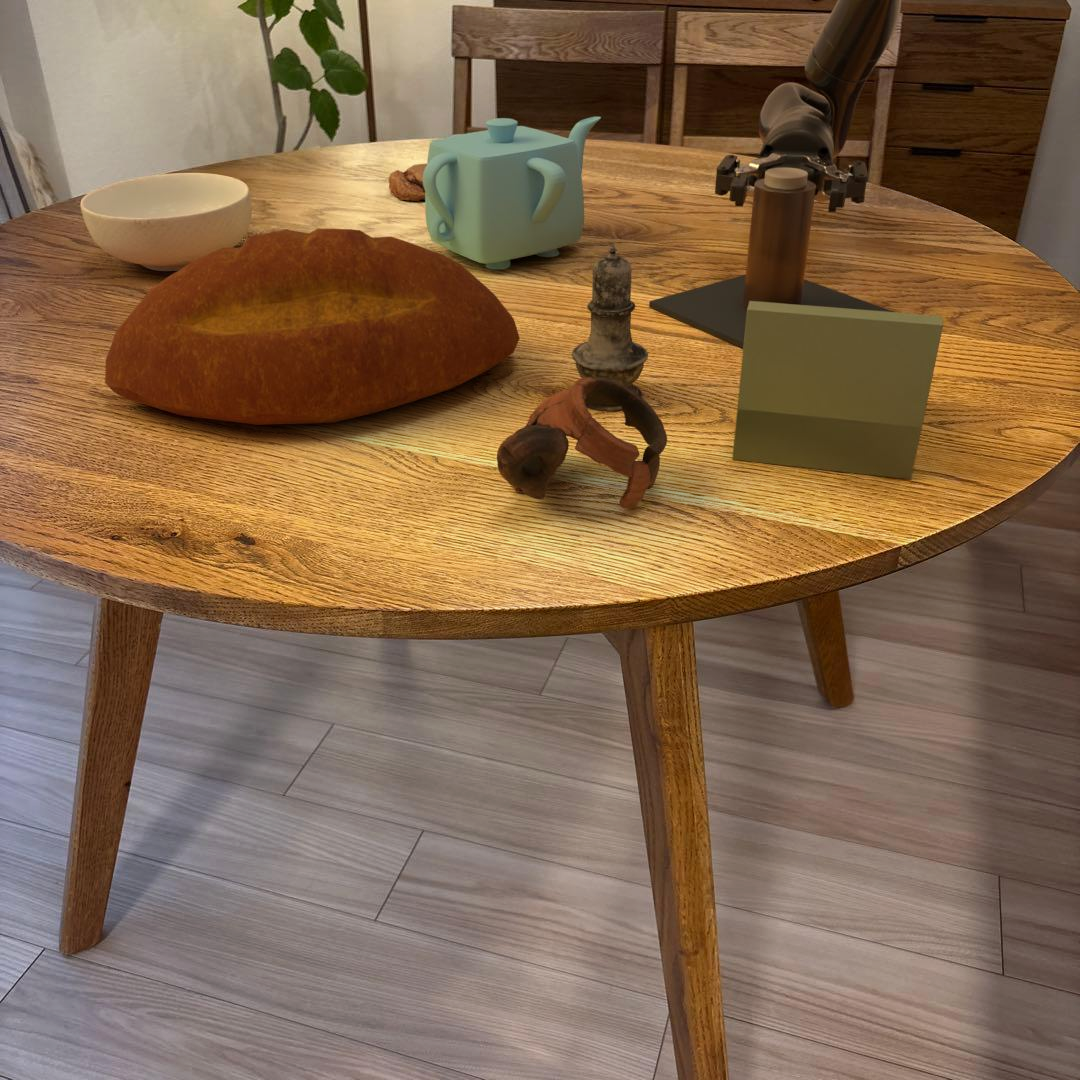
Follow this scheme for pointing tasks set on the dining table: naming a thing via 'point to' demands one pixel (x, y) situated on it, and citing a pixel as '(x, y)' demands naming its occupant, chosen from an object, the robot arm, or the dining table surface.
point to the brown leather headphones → (583, 439)
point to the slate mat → (740, 306)
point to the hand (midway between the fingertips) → (786, 198)
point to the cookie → (408, 183)
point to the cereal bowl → (168, 218)
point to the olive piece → (834, 387)
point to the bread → (308, 330)
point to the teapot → (506, 191)
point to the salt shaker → (611, 329)
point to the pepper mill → (779, 237)
